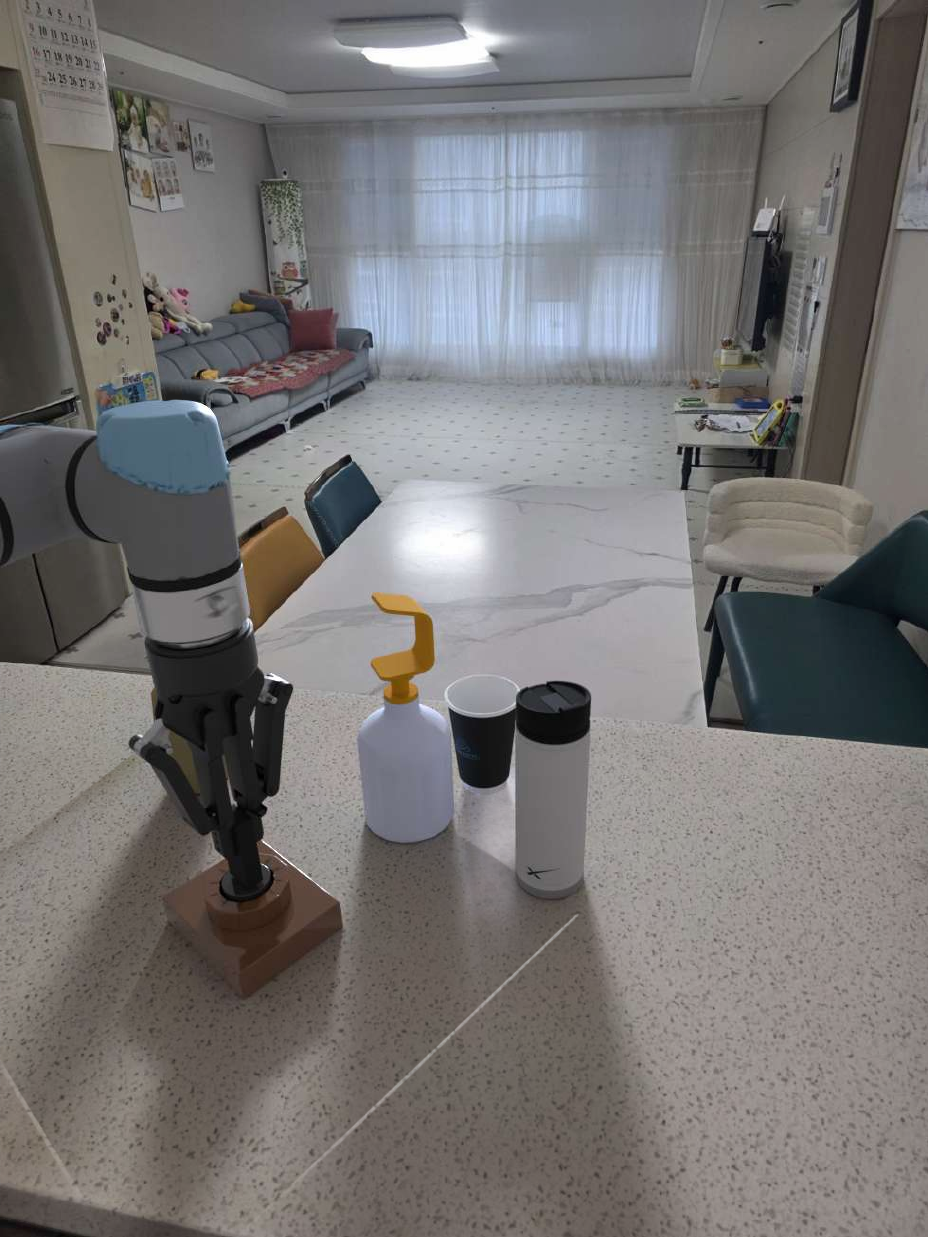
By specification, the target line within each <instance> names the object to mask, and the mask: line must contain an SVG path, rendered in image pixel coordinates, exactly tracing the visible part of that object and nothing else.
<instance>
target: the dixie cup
mask: <svg viewBox="0 0 928 1237" xmlns="http://www.w3.org/2000/svg"><path fill="white" fill-rule="evenodd" d="M520 690H521V689H520V687H519V686H518V685H517V684H516V683H515V682H513V681H512V680H510V679H508V678H505V677H502V676H499V675H494V674H493V675H492V674H474V675H470V676H465V677H462V678H459V679H457V680H455V681H454V682H452V683H450V684H449V685H448V687H447V688H446V689H445V691H444V695H443V699H444V702H445V705H446V706H447V709H448V715H449V716H448V717H449V721H450V727H451V735H452V739H453V745H454V751H455V757H456V762H457V768H458V775H459V778H460V780H461V782H462V785H463V787H464V788H465V789H466V791H468V792H470V793H472V794H475V795H480V796H487V795H494V794H497V793H499V792H500V791H502V790H503V789H505V787H506V785H507V782H508V779H509V777H510V774H511V773H510V772H511V764H512V757H513V749H514V743H515V721H516V695H517V693H518V692H519V691H520Z"/></svg>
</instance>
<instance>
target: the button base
mask: <svg viewBox="0 0 928 1237" xmlns="http://www.w3.org/2000/svg"><path fill="white" fill-rule="evenodd" d="M257 847H258V853H259V858H260V863H261V864H264V865H265V866H266V867H267V868H268V869H269V871H270V875H271V881H272V886H271V887H270V889H269V891H268V892H266V893H265V894H263V895H262V896H260V897H259V898H257V899H255V900H250V901H246V902H242V903H239V902H233V901H228V900H226V899H225V898H224V894H223V889H222V880H223V877H224V875H225V874H226V873H227V872H228V871H229V865H228V860H226V859H225V858H224V859H222V860H220V861H219V862H218V863H215V864H214V865H212V866H211V867H209V868H207V869H206V870H204V871H202V872H201V873H199V874H197V875H195V876H194V877H192V878H191V879H189V880H187V881H186V882H184V883H182V884H181V885H179V886H177V887H176V888H173V890H171V891H169V892H167V893H166V894H164V895H162V897H161V900H162V903H163V907H164V912H165V916H166V919H167V923H168V924H169V925H170V926H171V927H172V928H173V929H174V930H175V931H176V932H177V933H178V934H179V935H180V936H181V938H183V939H184V940H185V941H186V942H187V943H188V944H189V945H190V947H192V949H193V950H195V952H196V953H197V954H198V955H199V956H200V957H201V958H202V959H203V960H204V961H205V962H206V963H207V965H209V966H210V967H211V968H212V969H213V970H214V971H215V972H216V973H217V974H218V975H219V977H221V978H222V979H223V981H224V982H226V983H227V985H228V986H229V987H230V988H231V989H232V990H233V991H234V992H235V993H236V994H237V995H238V996H239V997H240V998H241V999H242V1000H243V1001H246V1000H247V999H248V998H249V997H251V996H252V995H254V994H255V993H256V992H257V991H259V990H260V989H262V988H263V987H265V986H266V985H267V984H268V983H270V982H271V981H273V980H274V979H275V978H277V977H278V976H279V975H281V974H282V973H283V972H285V971H286V970H287V969H289V968H290V967H291V966H293V965H294V964H295V963H297V962H298V961H300V960H301V959H302V958H304V957H305V956H307V954H309V953H310V952H312V951H313V950H314V949H316V948H317V947H318V946H320V945H321V944H323V943H324V942H325V941H326V940H328V939H329V938H331V937H332V936H333V935H335V934H336V933H338V932H339V931H340V930H342V929H343V927H344V925H343V917H342V909H341V902H340V901H339V900H338V899H337V898H336V897H334V896H333V895H332V894H331V893H329V892H328V891H327V890H326V889H324V887H322V886H321V885H319V884H318V883H317V882H315V881H314V880H313V879H312V878H311V877H309V876H308V875H306V874H305V873H304V872H303V871H302V870H300V869H299V868H298V867H297V866H295V865H294V864H293V863H292V862H291V861H289V860H288V859H286V857H284V856H283V855H281V854H280V853H279V852H278V851H276V849H274V848H272V847H271V846H270V845H269V844H268V843H267V842H265V841H264V840H263V839H261V840H260V841H258V842H257Z"/></svg>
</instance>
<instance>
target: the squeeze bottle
mask: <svg viewBox="0 0 928 1237" xmlns="http://www.w3.org/2000/svg"><path fill="white" fill-rule="evenodd" d="M150 698H151V708H152V717H153V723H154V722H155V721H156V718H155V715H154V709H155V706H156V702H157V692H156V689H155V686H153V688H152V690H151V693H150ZM169 739H170V741H171V742H172V748H173V753H172V754H171V755H170V756H171V757H173V758H174V759H175V760H176V761H177V763H178V764H179V766H180V767H181V769H182V771H183V772H184V774H185V776H186V778H187V779H188V781H189V783H190V785H191V786H192V788H193V790H194V792H195V793H196V795H199V794H200V790H199V785H198V780H197V775H196V771H195V766H194V761H193V756H192V752H191V749H190V748H189V746H188V744H187V741H186V740H185V739H183V738H181V737H180V736H178V735H177V734H175V733H173V732H172V731H171V733H170V735H169ZM222 758H223V763H224V769H225V774H226V779H227V780H229V776H228V771H227V766H226V761H225V756H224V755H222ZM200 795H201V794H200Z"/></svg>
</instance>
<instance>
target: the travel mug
mask: <svg viewBox="0 0 928 1237" xmlns="http://www.w3.org/2000/svg"><path fill="white" fill-rule="evenodd" d="M591 710H592V693H591V692H590V690H589V689H588V688H587V687H586V686H583V685H582V684H579V683H577V682H573V681H567V680H547V681H546V682H545V683H540V684H534V685H532V686H524V687H523V688H521V689H520V691H519V692H518V693H517V695H516V721H515V734H514V765H515V766H514V787H515V788H514V828H515V829H514V839H515V840H514V842H515V843H514V845H515V846H514V853H515V854H514V863H515V864H514V867H515V868H514V871H515V872H514V874H515V875H514V876H515V879H516V881H517V883H518V885H519V886H520V887H521V888H522V890H524V891H525V892H527V893H528V894H529V895H532V896H534V897H535V898H539V899H545V900H559V899H564V898H567V897H568V896H571V895H572V894H574V893H575V892H577V891H578V890H579V888H581V886H582V883H583V882H584V874H585V852H586V834H587V833H586V831H587V812H588V811H587V810H588V792H589V791H588V789H589V788H588V787H589V770H590V769H589V766H590V746H591V712H592V711H591Z"/></svg>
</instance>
